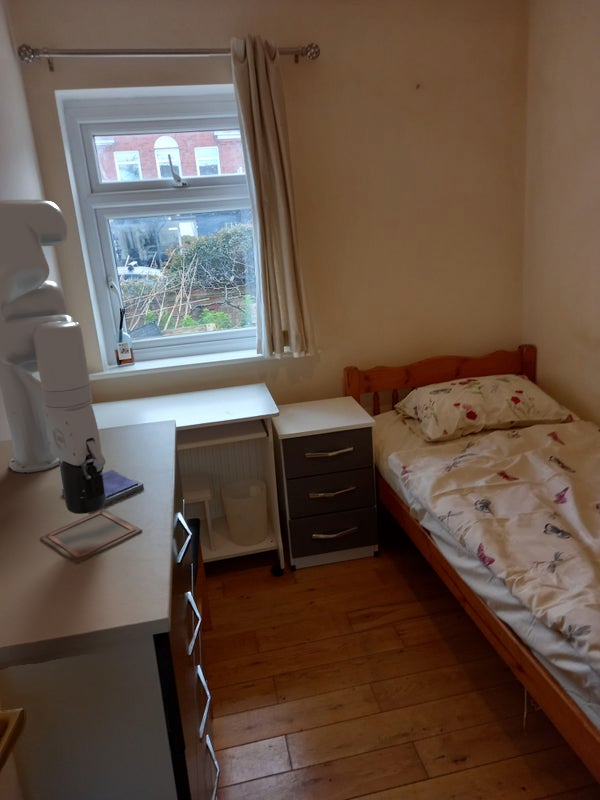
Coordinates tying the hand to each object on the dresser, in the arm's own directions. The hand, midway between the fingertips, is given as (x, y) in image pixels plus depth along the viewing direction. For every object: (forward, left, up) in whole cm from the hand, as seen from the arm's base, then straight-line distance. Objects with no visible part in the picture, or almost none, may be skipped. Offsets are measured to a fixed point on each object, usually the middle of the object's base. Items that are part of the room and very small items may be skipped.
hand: (84, 490), depth 101 cm
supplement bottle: (0, 0, -3) cm, 3 cm away
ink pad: (-14, +11, -9) cm, 20 cm away
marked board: (0, 0, -9) cm, 9 cm away
